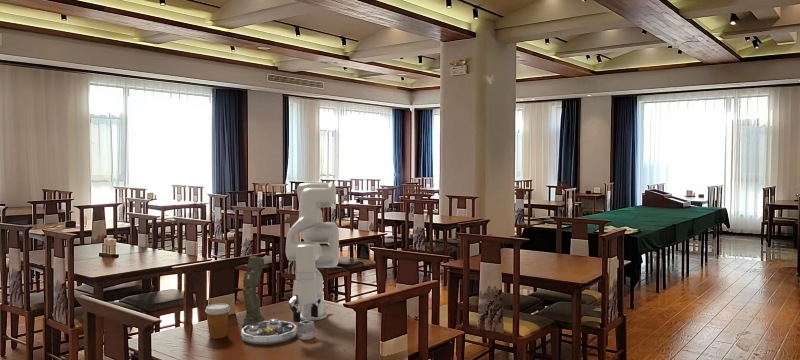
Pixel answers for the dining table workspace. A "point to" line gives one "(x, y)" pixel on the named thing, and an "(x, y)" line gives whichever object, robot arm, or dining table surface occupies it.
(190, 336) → the dining table surface
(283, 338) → the tray
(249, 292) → the mechanical leg
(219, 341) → the dining table surface
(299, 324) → the grey hollow boxy piece
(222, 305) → the disposable coffee cup
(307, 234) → the robot arm
